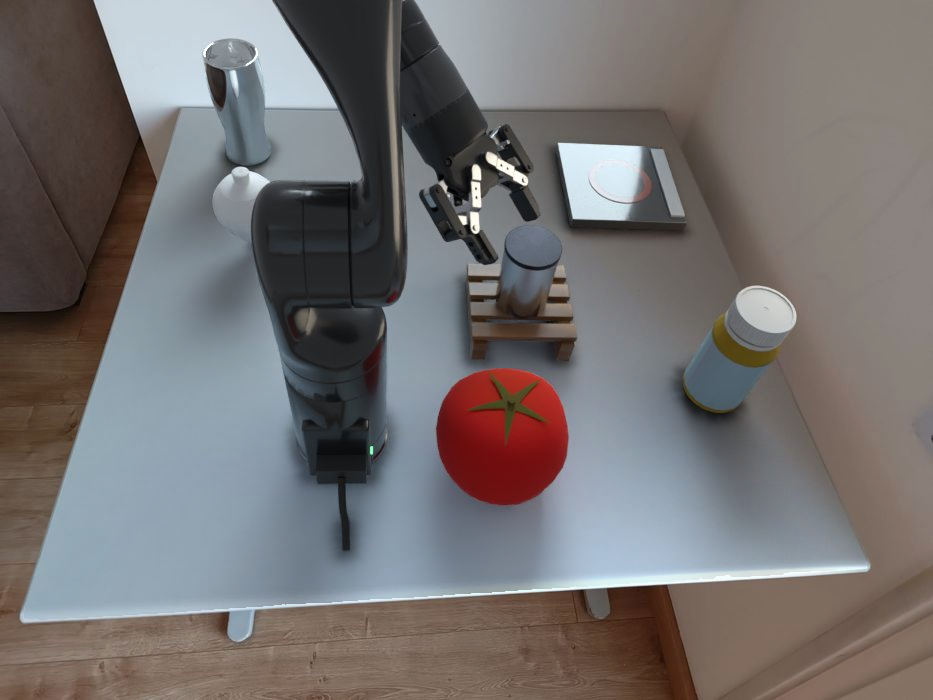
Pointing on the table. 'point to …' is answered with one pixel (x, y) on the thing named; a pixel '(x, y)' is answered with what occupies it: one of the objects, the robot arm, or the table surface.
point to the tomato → (502, 435)
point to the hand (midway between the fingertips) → (513, 240)
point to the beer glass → (238, 98)
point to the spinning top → (237, 200)
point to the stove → (619, 187)
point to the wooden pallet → (482, 311)
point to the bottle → (739, 349)
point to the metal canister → (527, 271)
